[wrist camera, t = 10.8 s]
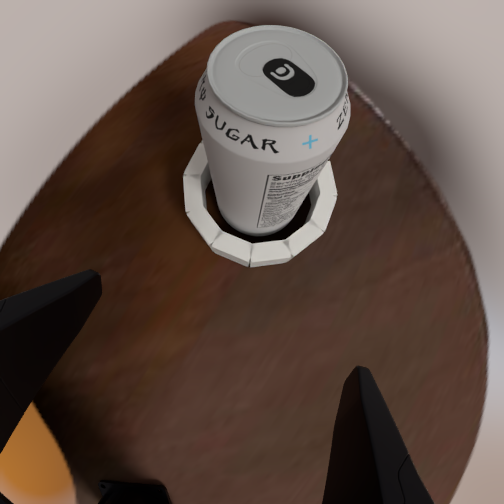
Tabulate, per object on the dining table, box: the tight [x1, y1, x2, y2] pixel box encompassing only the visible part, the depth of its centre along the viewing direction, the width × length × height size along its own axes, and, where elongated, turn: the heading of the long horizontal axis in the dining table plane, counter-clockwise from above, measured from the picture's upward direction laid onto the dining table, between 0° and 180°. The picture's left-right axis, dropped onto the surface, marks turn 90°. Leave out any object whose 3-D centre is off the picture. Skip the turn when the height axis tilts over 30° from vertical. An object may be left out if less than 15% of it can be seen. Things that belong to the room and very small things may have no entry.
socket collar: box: [183, 140, 337, 267], centre depth 23 cm, size 10×10×3 cm
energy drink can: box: [195, 25, 350, 236], centre depth 17 cm, size 6×6×15 cm
